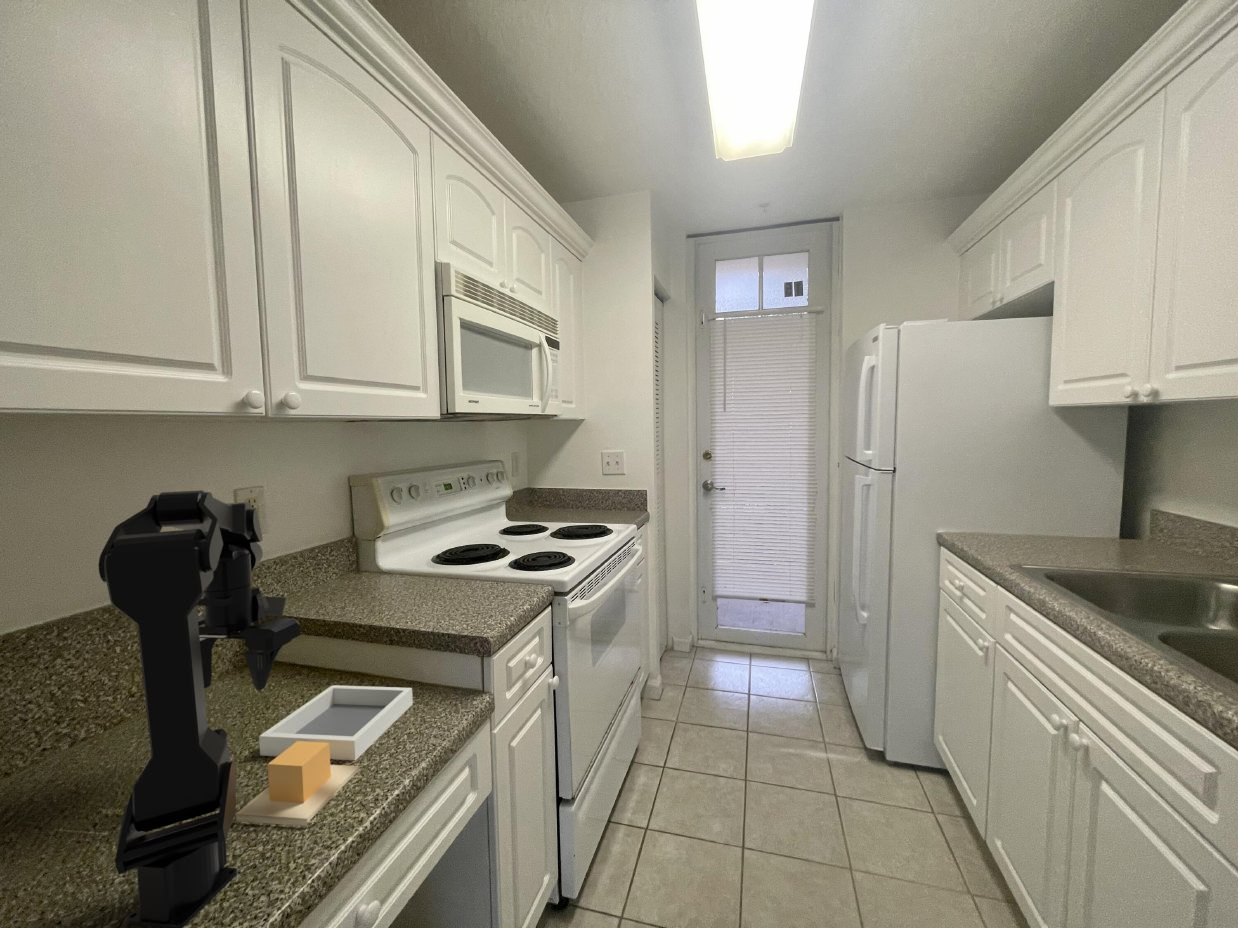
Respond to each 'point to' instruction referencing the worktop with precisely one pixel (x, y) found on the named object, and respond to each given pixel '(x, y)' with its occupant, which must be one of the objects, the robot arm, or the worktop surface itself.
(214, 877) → the robot arm
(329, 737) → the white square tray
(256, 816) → the pad
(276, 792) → the block
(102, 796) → the worktop surface
